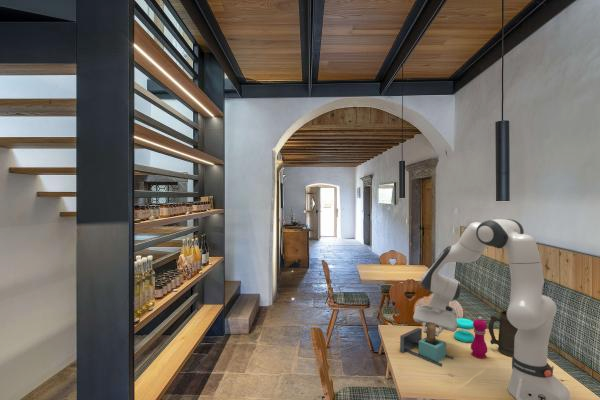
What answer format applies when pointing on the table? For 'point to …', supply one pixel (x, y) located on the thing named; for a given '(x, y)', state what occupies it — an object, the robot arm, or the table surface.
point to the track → (415, 344)
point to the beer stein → (503, 334)
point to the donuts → (464, 335)
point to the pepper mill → (479, 339)
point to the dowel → (431, 333)
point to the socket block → (432, 349)
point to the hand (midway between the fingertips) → (430, 334)
